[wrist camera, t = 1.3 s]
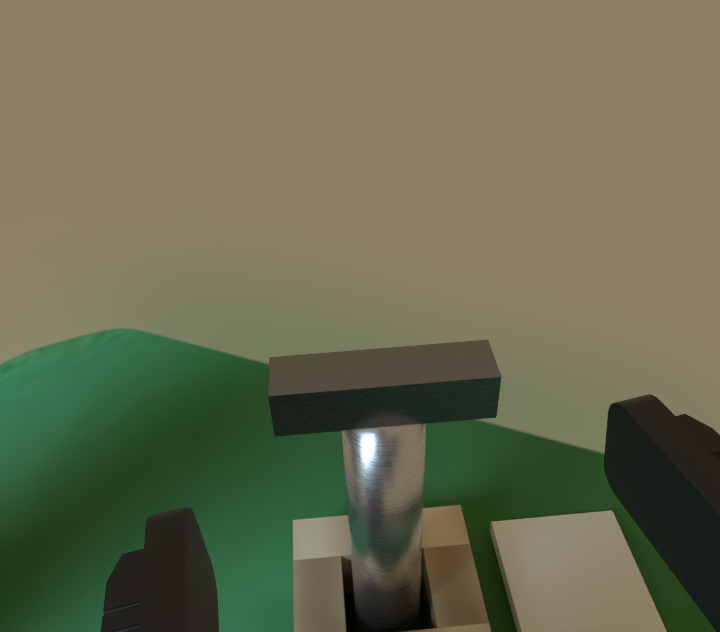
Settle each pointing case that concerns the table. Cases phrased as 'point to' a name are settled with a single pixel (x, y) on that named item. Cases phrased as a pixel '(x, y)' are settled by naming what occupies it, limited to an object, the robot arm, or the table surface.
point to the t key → (384, 450)
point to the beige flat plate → (572, 575)
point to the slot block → (438, 574)
